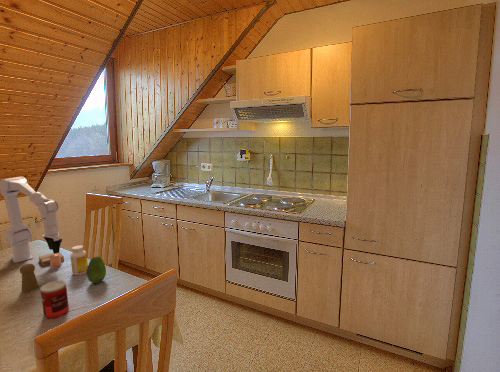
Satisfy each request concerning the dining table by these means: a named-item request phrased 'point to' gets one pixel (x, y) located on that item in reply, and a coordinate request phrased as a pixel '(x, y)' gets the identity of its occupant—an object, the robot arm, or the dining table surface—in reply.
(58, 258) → the tan rounded cylinder
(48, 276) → the dining table surface
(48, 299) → the canned food
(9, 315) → the dining table surface
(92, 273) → the fruit
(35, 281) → the cork
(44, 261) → the walnut board
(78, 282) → the dining table surface
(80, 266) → the supplement bottle
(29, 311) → the dining table surface
